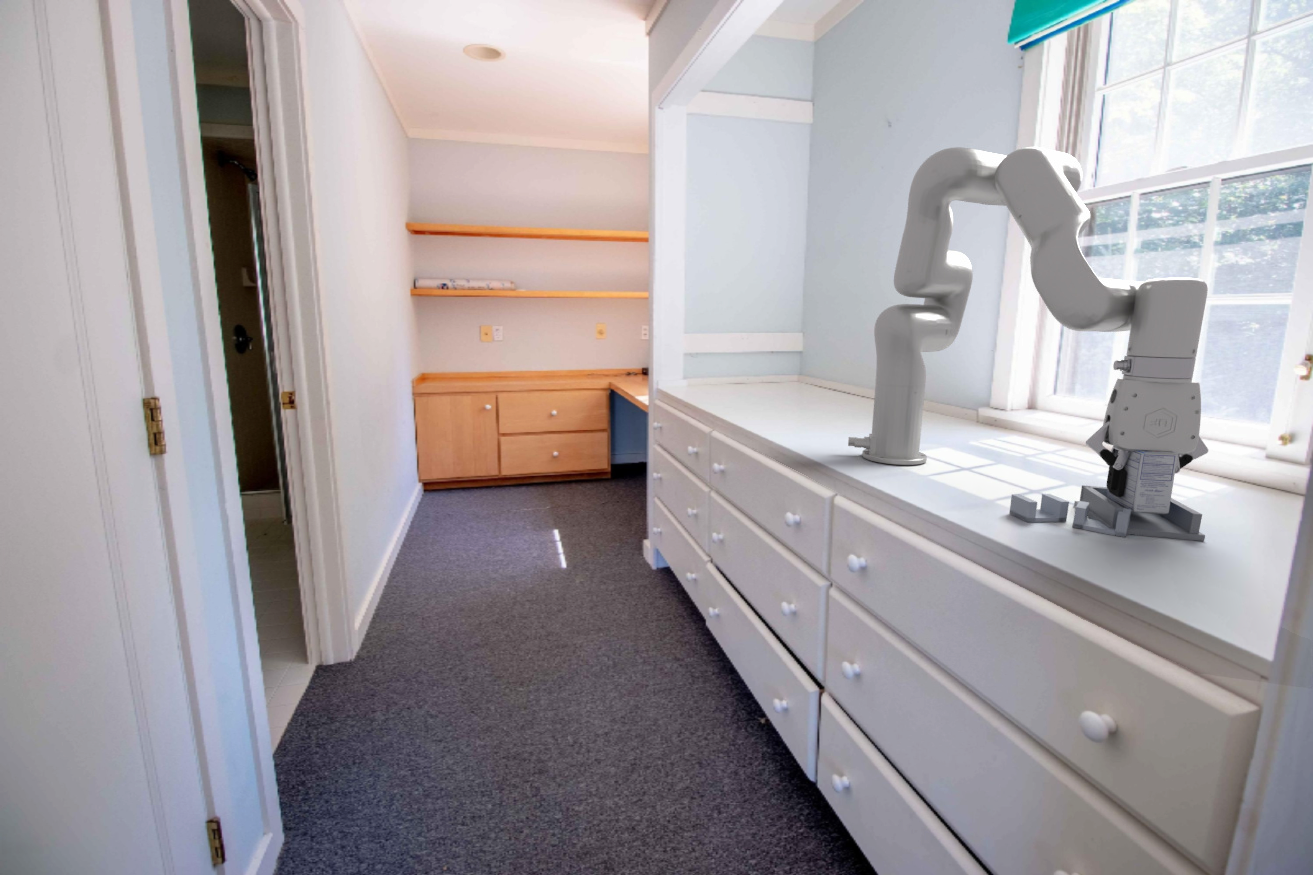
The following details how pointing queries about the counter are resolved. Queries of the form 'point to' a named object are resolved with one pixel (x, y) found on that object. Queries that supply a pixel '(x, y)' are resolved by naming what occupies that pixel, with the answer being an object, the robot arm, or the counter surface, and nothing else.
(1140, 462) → the medicine box
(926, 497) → the counter surface
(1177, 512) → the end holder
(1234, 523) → the counter surface
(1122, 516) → the clip
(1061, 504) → the clip
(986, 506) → the counter surface
